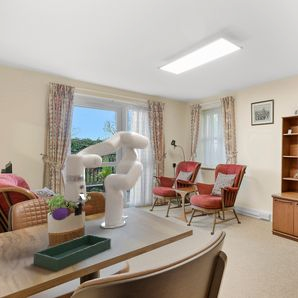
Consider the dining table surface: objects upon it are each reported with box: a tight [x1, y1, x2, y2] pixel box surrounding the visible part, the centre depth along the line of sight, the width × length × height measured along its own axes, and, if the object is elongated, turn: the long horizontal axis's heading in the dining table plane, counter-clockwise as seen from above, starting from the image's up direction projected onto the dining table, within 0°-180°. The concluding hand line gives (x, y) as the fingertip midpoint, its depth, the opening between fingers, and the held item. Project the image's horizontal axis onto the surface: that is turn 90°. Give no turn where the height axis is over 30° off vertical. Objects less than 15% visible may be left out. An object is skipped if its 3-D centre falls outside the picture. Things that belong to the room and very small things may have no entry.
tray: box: [32, 233, 112, 272], centre depth 100 cm, size 23×14×5 cm, turn 161°
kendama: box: [51, 204, 93, 221], centre depth 115 cm, size 6×6×20 cm
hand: (73, 214), depth 115 cm, fingers closed on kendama, 5 cm apart
